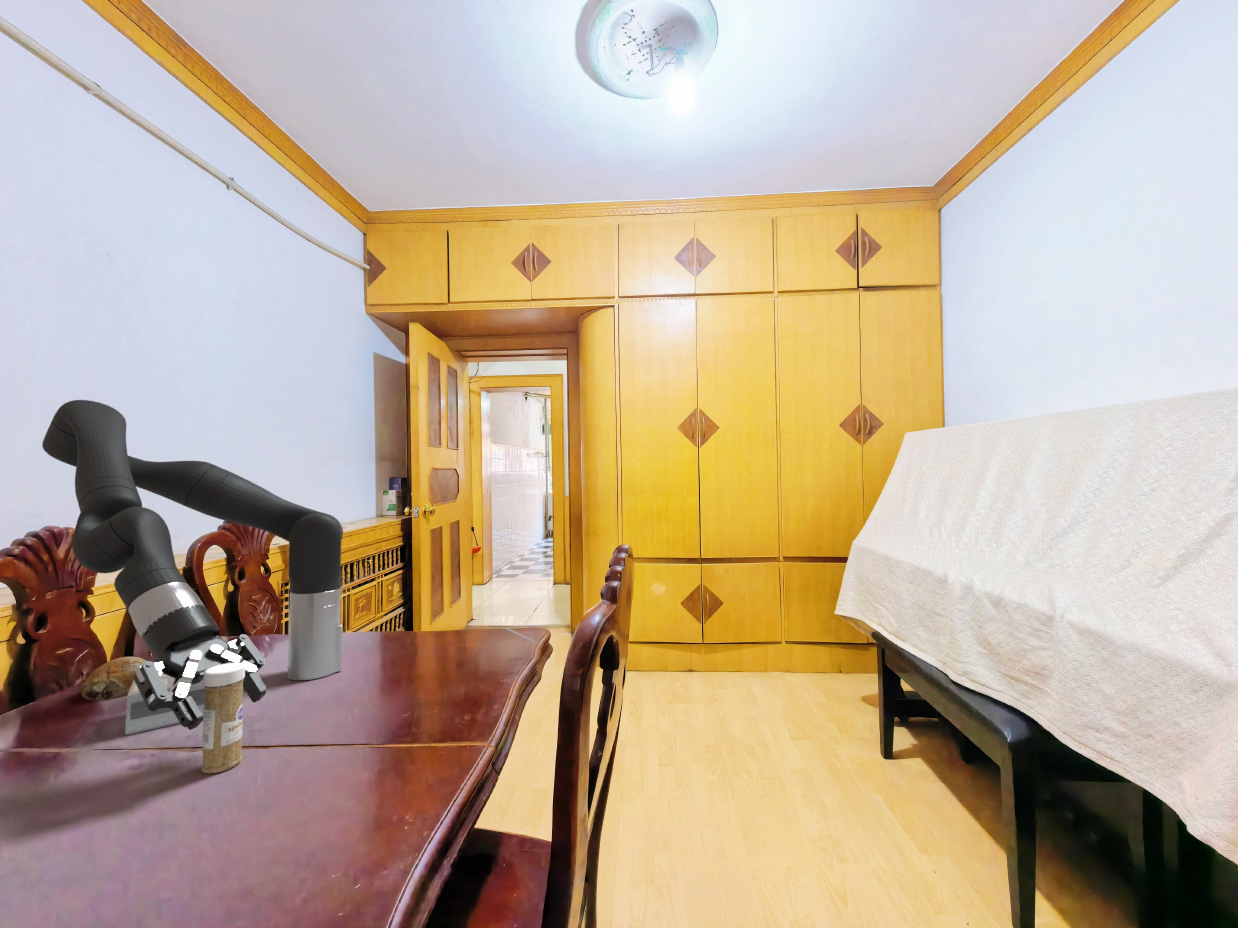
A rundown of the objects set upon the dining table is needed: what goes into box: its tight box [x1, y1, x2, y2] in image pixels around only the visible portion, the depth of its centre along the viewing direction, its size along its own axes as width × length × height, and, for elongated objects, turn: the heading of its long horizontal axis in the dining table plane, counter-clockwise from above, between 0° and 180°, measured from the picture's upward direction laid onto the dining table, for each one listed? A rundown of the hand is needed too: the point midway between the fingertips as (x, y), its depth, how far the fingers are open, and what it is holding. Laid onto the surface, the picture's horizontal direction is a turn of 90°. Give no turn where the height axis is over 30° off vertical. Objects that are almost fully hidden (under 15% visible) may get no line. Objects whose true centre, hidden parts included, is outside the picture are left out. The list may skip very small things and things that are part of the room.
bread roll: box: [80, 656, 148, 701], centre depth 96 cm, size 10×10×8 cm
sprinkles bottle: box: [200, 662, 245, 774], centre depth 69 cm, size 5×5×14 cm
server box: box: [125, 673, 205, 736], centre depth 85 cm, size 12×10×6 cm
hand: (230, 710), depth 69 cm, fingers open, 8 cm apart
